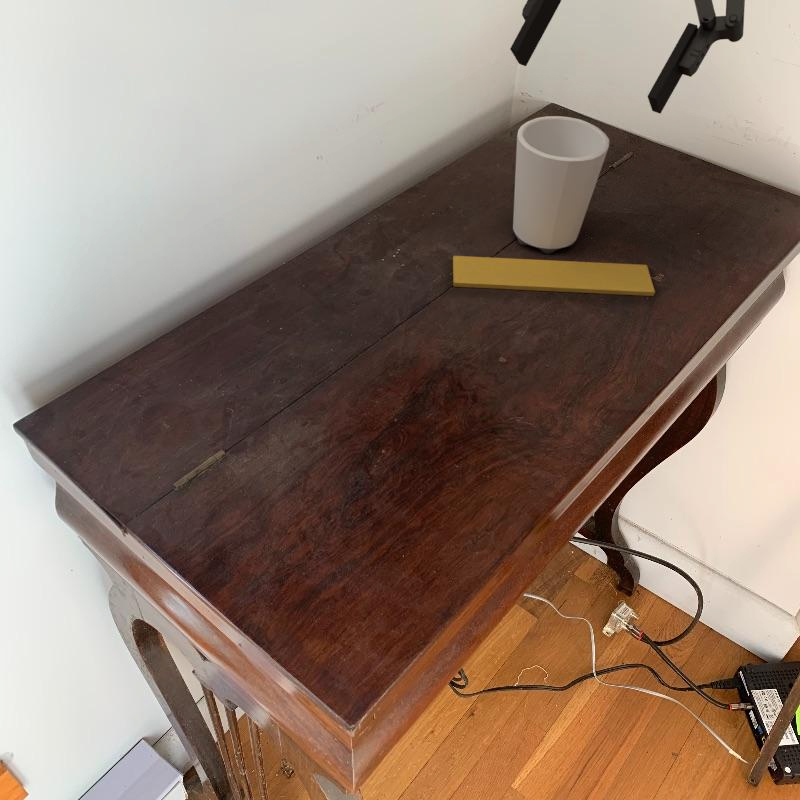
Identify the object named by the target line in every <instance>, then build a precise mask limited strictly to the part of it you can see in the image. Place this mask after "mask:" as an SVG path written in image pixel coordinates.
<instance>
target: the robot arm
mask: <svg viewBox="0 0 800 800" xmlns="http://www.w3.org/2000/svg"><path fill="white" fill-rule="evenodd" d="M561 2H562V0H527V1H526V2H525V4H524V6H523V8H522V12H521V16H522V17H523V19H524V23H523V24H522V26H521V27H520V29H519V32H518V33H517V36H516V37H515V39H514V40H513V43H512V45H511V46H510V48H509V50H510V51H511V54H513V56H514V59H516V61H517V63H518V64H519V65H521V66H524V67H527V65H528V63H529V61H530V59H531V58H532V56H533V55H534V52H535V51H536V48H537V46H538V45H539V44H540V41H541V40H542V38H543V36H544V33H545V32H546V31H547V28H548V26H549V24H550V22H551V21H552V19H553V17H554V15H555V13H556V12H557V10H558V8H559V6H560V4H561ZM693 2H694V5H695V11H696V15H697V19H698V23H699V26H698V25H697V24H694V23H692V22H691V23H690V22H688V23H687V25H686V27H685V28H684V30H683V32H682V34H681V36H680V38H679V39H678V41H677V43H676V44H675V46H674V48H673V49H672V51H671V53H670V55H669V57H668V59H667V60H666V62H665V64H664V66H663V68H662V69H661V71H660V72H659V74H658V77H657V78H656V80H655V82H654V84H653V86H652V87H651V89H650V90H649V93H648V94H647V100H648V102H649V106H650V109H651V111H652V112H654V113H656V114H657V113H658V114H662V112H663V110H664V109H665V107H666V105H667V103H668V101H669V100H670V98H671V97H672V94H673V92H674V90H675V89H676V88H677V86H678V83H679V82H680V80H681V78H682V77H683V76H687V77H691V78H692V77H693V75H694V74H696V73H697V72H698V70H699V68H700V65H702V63H703V61H704V59H705V57H706V56H707V54H708V52H709V50H710V48H711V47H712V45H713V44H714V43H715V42H717V41H720V40H721V41H723V40H728V41H729V42H730V43H736V42H737V43H738V42H739V41H741V39H742V38H743V36H744V25H745V4H746V3H745V2H746V0H726V1H725V15H718V16H717V15H716V11H715V7H714V3H713V0H693Z"/></svg>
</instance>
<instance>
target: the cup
mask: <svg viewBox="0 0 800 800" xmlns="http://www.w3.org/2000/svg"><path fill="white" fill-rule="evenodd" d="M516 135H517V136H516V151H515V153H516V154H515V173H514V174H515V176H514V197H513V217H512V218H513V219H512V230H513V232H514V235H515V237H516V239H517V242H518V244H520V245H521V246H531V247H534V248H536V249H539V250H540V251H541V252H542V253H544V254H552V253H554V252H556V251H558V250H560V249H563V248H571V247H572V246H574V244H575V243H576V241H577V239H578V237H579V234H580V231H581V228H582V226H583V222H584V220H585V217H586V214H587V212H588V208H589V205H590V203H591V199H592V196H593V194H594V191H595V188H596V185H597V182H598V179H599V177H600V174H601V170H602V168H603V165H604V162H605V159H606V156H607V153H608V150H609V147H610V138H609V137H608V136H607V134H606V132H604V131H603V130H602V129H601V128H599V127H598V126H596V125H594V124H592V123H590V122H588V121H586V120H583V119H580V118H575V117H570V116H561V115H548V116H547V115H546V116H540V117H539V116H538V117H536V118H535V117H534V118H533V119H530V120H528V121H526V122H525V123H523V124H522V125H520V127H519V129H518V130H517V134H516Z"/></svg>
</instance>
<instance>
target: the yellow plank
mask: <svg viewBox="0 0 800 800" xmlns="http://www.w3.org/2000/svg"><path fill="white" fill-rule="evenodd" d="M452 276H453V277H452V284H453V288H471V289H472V288H475V289H494V290H495V289H496V290H514V291H515V290H517V291H540V292H559V293H560V292H561V293H578V294H598V295H599V294H603V295H623V296H640V297H641V296H642V297H654V296H655V294H656V289H655V288H654V284H653V281H652V277H651V273H650V269H649V267H648V265H647V264H637V263H636V264H634V263H617V262H616V263H615V262H613V263H612V262H593V261H572V260H552V259H529V258H509V257H486V256H470V255H469V256H466V255H453V256H452Z"/></svg>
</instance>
